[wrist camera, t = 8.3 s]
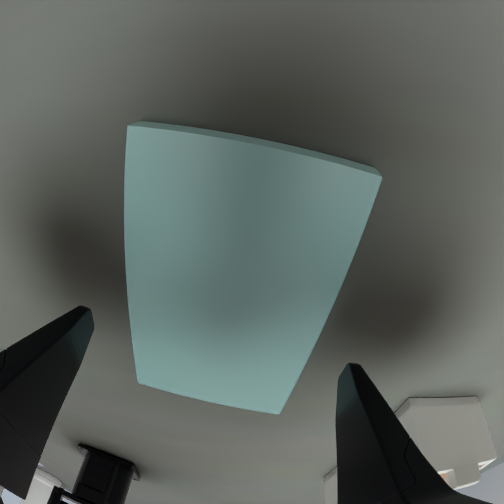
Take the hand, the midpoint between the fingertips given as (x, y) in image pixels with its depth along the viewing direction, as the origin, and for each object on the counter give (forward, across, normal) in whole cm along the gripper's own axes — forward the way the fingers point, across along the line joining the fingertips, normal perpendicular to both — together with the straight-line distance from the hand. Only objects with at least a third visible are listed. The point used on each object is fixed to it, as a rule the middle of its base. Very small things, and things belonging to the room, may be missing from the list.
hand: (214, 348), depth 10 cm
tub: (+2, -14, +12) cm, 19 cm away
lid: (+3, 0, 0) cm, 3 cm away
